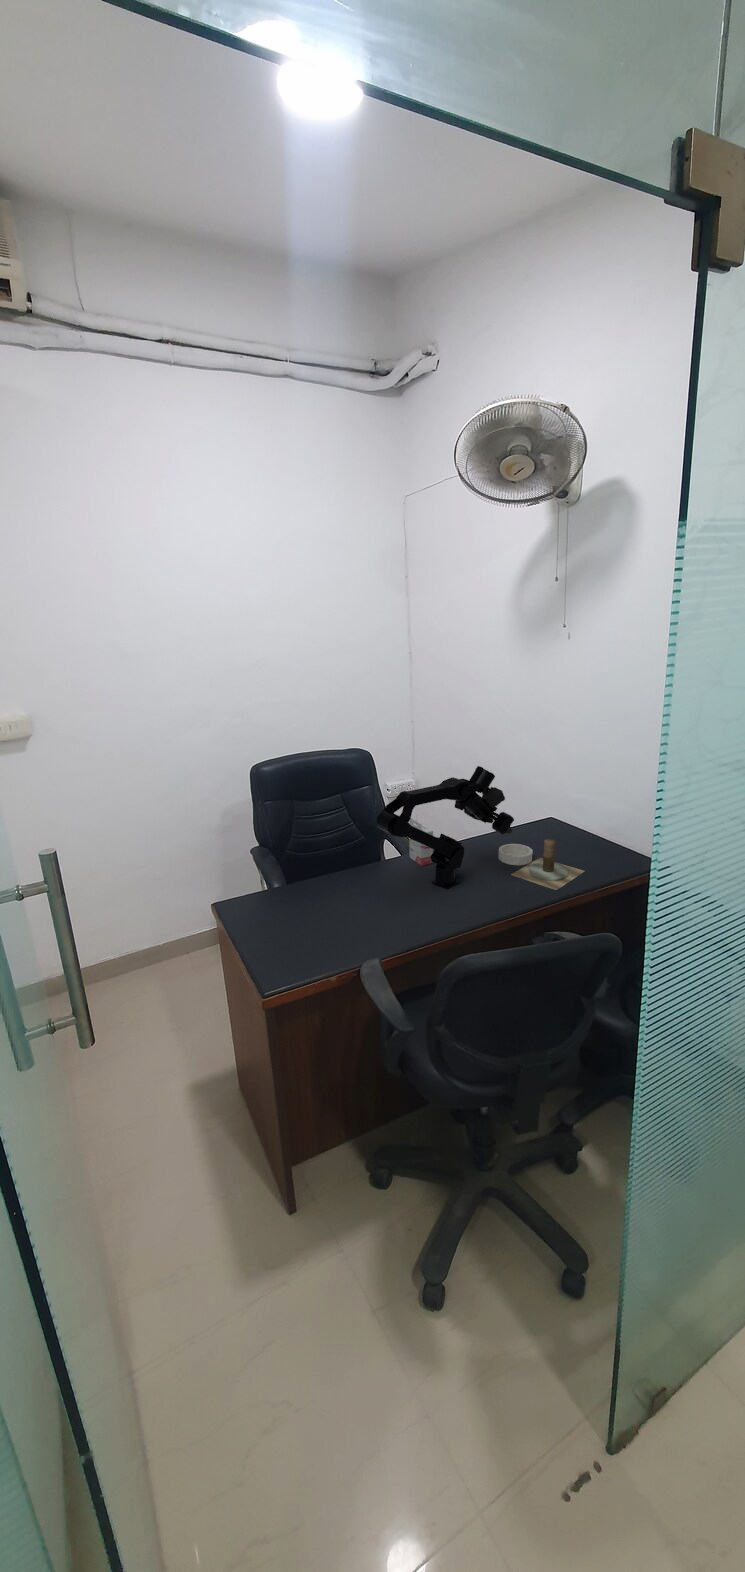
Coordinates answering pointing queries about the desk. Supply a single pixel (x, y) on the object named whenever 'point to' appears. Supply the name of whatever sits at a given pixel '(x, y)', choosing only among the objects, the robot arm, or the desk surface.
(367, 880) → the desk surface
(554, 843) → the lid
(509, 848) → the bowl
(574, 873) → the mat
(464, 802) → the robot arm
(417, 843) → the ink cartridge box
